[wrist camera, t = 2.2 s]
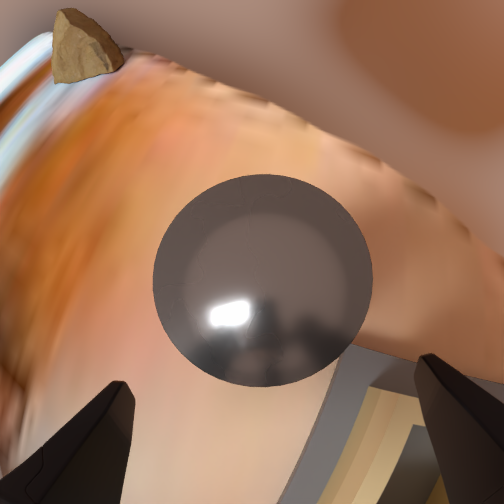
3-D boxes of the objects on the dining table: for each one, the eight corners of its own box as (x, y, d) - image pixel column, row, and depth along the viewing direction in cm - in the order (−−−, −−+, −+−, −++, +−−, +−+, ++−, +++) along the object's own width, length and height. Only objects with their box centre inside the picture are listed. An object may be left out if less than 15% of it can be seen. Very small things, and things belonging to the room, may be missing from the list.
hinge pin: (296, 379, 17) (331, 417, 6) (219, 351, 18) (121, 333, 7) (323, 303, 19) (391, 209, 7) (248, 277, 20) (205, 155, 8)
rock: (144, 38, 28) (109, 18, 29) (87, 18, 20) (60, 3, 22) (101, 113, 33) (73, 83, 34) (43, 109, 25) (24, 78, 27)
